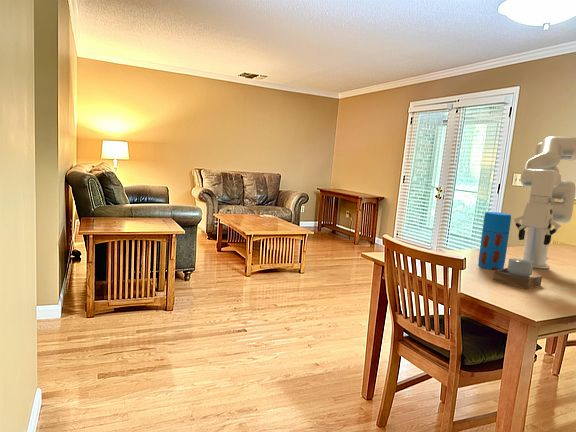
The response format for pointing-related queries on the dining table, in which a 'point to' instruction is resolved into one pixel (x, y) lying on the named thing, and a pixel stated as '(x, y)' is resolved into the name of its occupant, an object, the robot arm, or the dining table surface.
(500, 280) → the caddy
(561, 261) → the dining table surface
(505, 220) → the blue domino block
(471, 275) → the dining table surface
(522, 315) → the dining table surface
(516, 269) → the grey-blue mug
